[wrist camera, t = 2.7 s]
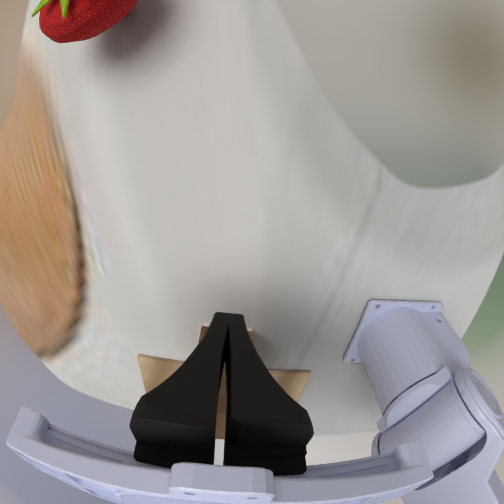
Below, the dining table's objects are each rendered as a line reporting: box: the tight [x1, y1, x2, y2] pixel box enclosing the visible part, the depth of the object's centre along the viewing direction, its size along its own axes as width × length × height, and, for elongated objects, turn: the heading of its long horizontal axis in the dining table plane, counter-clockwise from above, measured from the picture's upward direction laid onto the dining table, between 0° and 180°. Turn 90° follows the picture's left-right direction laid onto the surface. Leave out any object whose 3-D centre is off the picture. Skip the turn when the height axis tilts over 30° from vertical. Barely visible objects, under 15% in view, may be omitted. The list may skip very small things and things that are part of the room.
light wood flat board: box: [137, 354, 311, 403], centre depth 28 cm, size 18×9×1 cm, turn 83°
